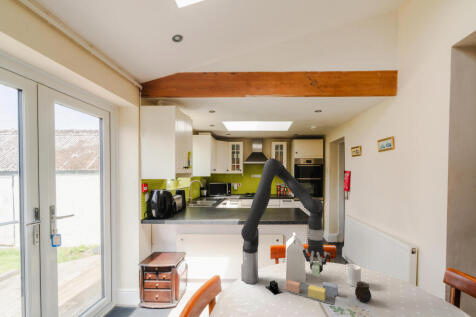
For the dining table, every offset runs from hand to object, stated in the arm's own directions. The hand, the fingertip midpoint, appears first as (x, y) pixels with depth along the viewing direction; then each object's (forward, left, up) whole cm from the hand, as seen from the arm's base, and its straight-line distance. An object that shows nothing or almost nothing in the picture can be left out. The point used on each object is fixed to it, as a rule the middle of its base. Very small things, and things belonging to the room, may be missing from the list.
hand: (316, 270), depth 114 cm
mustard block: (0, 0, -13) cm, 13 cm away
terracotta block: (-13, 0, -13) cm, 18 cm away
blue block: (+5, +7, -13) cm, 16 cm away
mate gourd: (+21, +9, -14) cm, 27 cm away
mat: (-3, +3, -13) cm, 14 cm away
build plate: (-22, -4, -14) cm, 27 cm away
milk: (-16, +17, -14) cm, 27 cm away
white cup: (+16, +24, -14) cm, 32 cm away
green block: (0, +1, -1) cm, 1 cm away
